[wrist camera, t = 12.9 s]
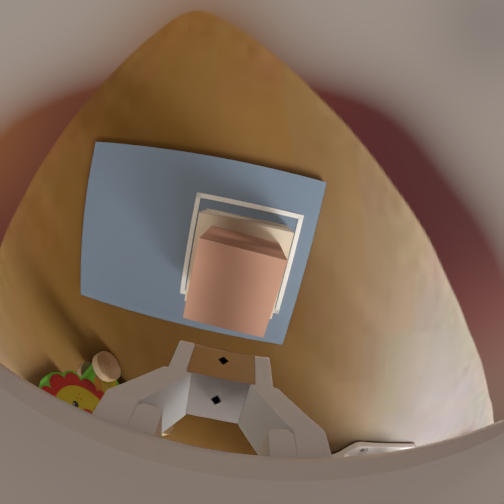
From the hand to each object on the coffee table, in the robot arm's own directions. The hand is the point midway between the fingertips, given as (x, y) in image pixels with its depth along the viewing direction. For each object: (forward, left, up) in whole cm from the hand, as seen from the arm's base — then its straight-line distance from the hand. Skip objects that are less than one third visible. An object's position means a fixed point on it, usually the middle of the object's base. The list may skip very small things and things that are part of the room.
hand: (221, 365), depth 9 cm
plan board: (+5, 0, -17) cm, 18 cm away
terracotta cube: (0, 0, -12) cm, 12 cm away
